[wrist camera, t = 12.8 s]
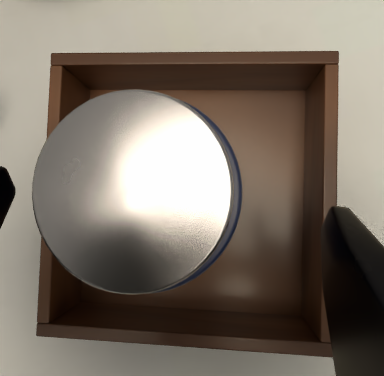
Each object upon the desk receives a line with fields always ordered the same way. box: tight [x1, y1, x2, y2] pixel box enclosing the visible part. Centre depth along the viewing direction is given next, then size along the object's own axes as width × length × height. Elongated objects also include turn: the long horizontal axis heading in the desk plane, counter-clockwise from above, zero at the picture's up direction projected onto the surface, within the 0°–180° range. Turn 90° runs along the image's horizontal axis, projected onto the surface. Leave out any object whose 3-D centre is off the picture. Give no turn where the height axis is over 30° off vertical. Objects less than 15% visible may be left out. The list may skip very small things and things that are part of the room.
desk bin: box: [36, 51, 339, 357], centre depth 17 cm, size 13×13×4 cm
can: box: [32, 89, 242, 295], centre depth 12 cm, size 4×4×12 cm
